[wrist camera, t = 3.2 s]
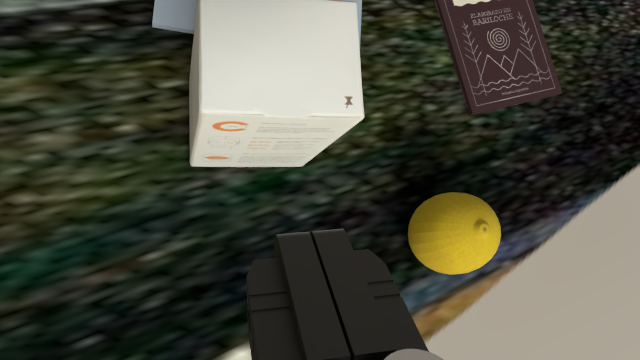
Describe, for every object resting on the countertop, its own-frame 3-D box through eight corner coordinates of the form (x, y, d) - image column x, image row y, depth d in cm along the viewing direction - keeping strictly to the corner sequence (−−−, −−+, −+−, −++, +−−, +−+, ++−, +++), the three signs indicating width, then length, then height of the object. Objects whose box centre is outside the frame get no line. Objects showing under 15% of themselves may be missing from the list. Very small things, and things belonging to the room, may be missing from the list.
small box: (300, 83, 40) (360, -1, 27) (303, 168, 39) (368, 120, 26) (186, 77, 38) (197, -17, 25) (187, 167, 37) (199, 116, 24)
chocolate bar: (472, 113, 43) (408, -96, 44) (466, 117, 44) (404, -88, 45) (562, 92, 46) (499, -104, 47) (554, 96, 46) (492, -97, 48)
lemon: (378, 219, 40) (429, 207, 32) (437, 188, 42) (499, 170, 34) (411, 287, 40) (470, 291, 32) (469, 253, 41) (538, 249, 34)
